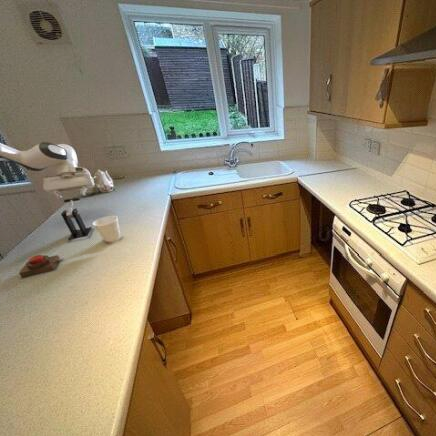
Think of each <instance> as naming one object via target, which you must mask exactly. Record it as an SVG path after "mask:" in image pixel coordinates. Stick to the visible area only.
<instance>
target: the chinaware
mask: <svg viewBox="0 0 436 436" xmlns="http://www.w3.org/2000/svg"><path fill="white" fill-rule="evenodd" d="M92 178H93V180H94V183H95V186H96V188H95V186H94V187H90V188H87V190H86V192H85V195H84V196H85V197H89V196H90V197H91V196H93V193H94V188H95V189H96V190H97V191H98V192H99V193H101V194H105V193H110V192H112V191H114V190H115V189H114V187H115V182H116V180H115V179H113V178H112V177H111V176H110V175H109V173H108V170H105V171H102V170H100V169H97V171H96V172H95V173H94V176H93V177H92ZM95 179H96V180H97V183H96V181H95ZM77 190H78V191H79V192H81V191H82V190H83V189H77Z"/></svg>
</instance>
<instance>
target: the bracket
mask: <svg viewBox="0 0 436 436" xmlns="http://www.w3.org/2000/svg"><path fill="white" fill-rule="evenodd" d="M67 211H68V210H67V209H65V210H64V209H63V211H62V212H61V213H60V215H61V217H62V219H63V221H64V223H65V224H66V227H67V228H68V230H69V232H70V235H69V237H68V239H67V241H70V240H77V239H80V238H84V237H85V238H86V237H88V236H89V234H90V232H91V231H92V228H93V226H90V227H86V225H85V222H84V221H83V219H82V216H81V214H80V213H79V210H78V208H73V211H72V214H73V216H74V218H73V219H74V220H75V222H76V224H77V226H78V228H79V229H77V227H76V226H75V224H74V222H73V220H72V218H68V217H67V216H66V213H67Z"/></svg>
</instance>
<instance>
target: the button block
mask: <svg viewBox="0 0 436 436" xmlns="http://www.w3.org/2000/svg"><path fill="white" fill-rule="evenodd" d="M42 256H43V258H44V260H43V261H41V262H39V263H36V264H31V263H30V261H29V260H27V261H26V262H25V264H24V266H23V267H22V268H21V270H20V271H19V272H18V274H19V275H20V277H21V278H23V279H24V278H26V277H31V276H35V275H40V274H43V273H44V274H45V273H48V272H52V271H55V270H56V268H57V266H58V265H59V263H60V256H59V255H58V254H57V255H52V256H49V255H42Z"/></svg>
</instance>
